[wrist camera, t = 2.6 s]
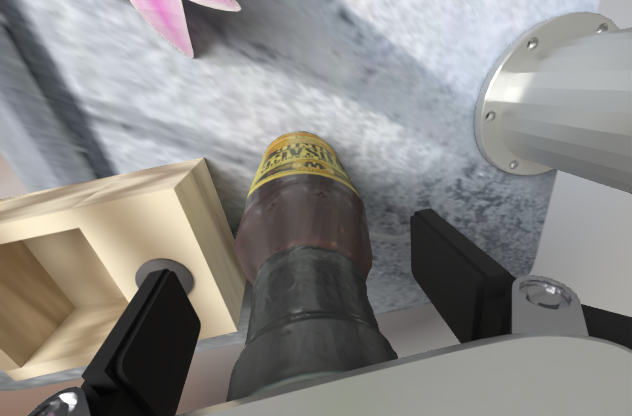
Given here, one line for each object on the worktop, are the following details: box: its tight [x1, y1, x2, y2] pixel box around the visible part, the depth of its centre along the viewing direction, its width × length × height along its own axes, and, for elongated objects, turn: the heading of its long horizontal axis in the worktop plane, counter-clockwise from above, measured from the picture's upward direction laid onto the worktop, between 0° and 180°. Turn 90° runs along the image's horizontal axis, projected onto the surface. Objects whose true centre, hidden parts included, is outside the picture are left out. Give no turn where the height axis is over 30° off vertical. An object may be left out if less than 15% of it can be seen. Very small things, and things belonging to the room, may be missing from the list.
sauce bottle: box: [226, 131, 398, 402], centre depth 14 cm, size 7×6×20 cm
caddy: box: [0, 158, 247, 381], centre depth 21 cm, size 17×12×7 cm
